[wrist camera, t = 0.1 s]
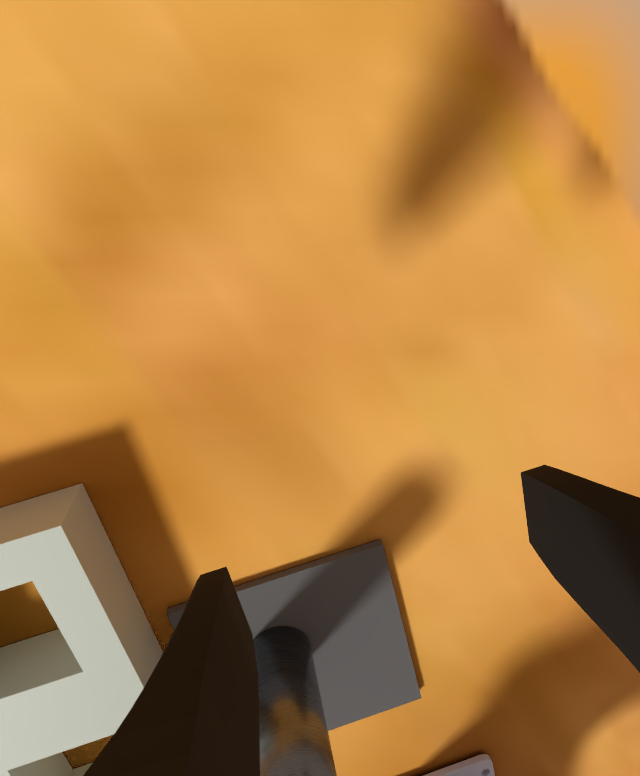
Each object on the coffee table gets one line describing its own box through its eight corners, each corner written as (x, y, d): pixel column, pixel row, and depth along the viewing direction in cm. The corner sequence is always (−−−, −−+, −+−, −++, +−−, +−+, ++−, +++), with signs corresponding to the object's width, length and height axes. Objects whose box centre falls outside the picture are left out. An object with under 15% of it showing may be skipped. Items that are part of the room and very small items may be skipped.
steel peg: (317, 663, 26) (363, 887, 17) (257, 684, 25) (274, 920, 17) (301, 617, 25) (342, 831, 16) (238, 638, 24) (247, 866, 16)
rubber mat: (418, 691, 28) (421, 697, 28) (235, 755, 27) (235, 763, 27) (380, 539, 24) (382, 544, 24) (167, 608, 24) (166, 614, 23)
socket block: (209, 749, 27) (208, 812, 24) (52, 804, 26) (31, 876, 23) (82, 483, 21) (60, 525, 18) (-123, 545, 20) (-178, 599, 18)
